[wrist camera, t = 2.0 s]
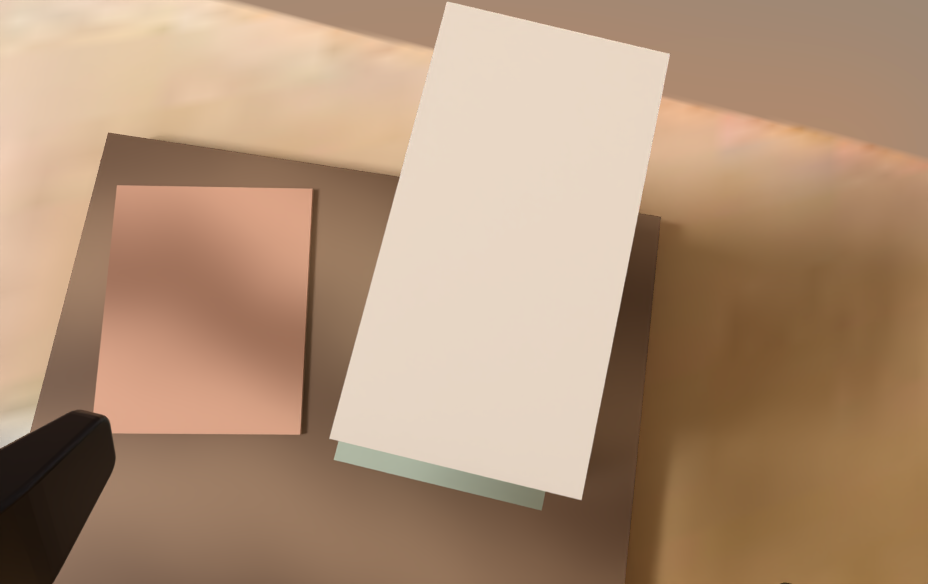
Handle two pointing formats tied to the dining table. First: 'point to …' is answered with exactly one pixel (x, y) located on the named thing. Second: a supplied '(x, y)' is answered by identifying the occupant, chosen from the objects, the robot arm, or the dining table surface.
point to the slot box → (439, 475)
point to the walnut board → (287, 391)
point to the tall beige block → (505, 253)
